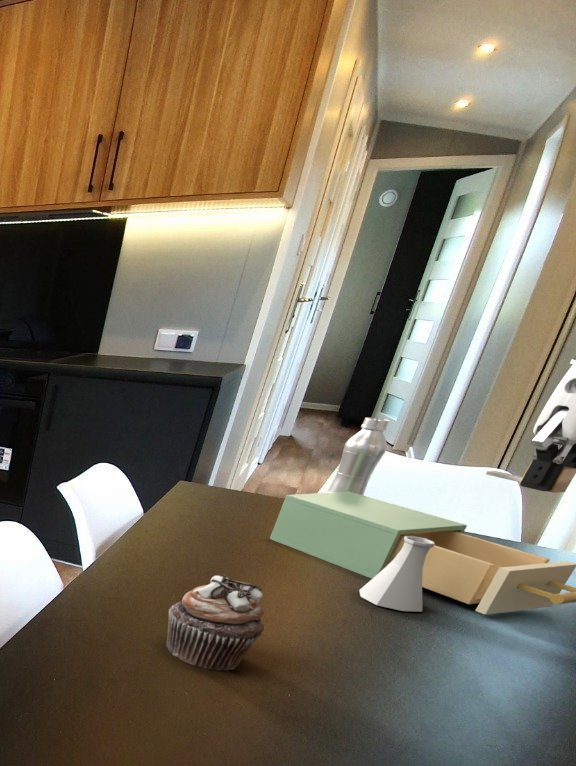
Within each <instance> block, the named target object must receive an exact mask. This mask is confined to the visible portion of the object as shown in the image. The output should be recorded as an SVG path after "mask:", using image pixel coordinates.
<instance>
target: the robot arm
mask: <svg viewBox="0 0 576 766" xmlns="http://www.w3.org/2000/svg"><path fill="white" fill-rule="evenodd" d="M569 364H570V365H571V366H570V368H569V369H568V371H567V372H566V373H565V374H564V376H563V377H562V379H561V380H560V382H558V383H559V384H558V385H557V386H556V388H554V391H553V393H552V394H551V395H550V397H549V399H548V401H547V402H546V404H545V406H543V409H542V410H541V412H540V414H539V415H538V418H537V420H536V422H535V424H534V427H533V430H532V432H533V434H534V437H533V438H532V439H531V442H530V444H531V445H532V446H533V447H534V448H535V452H534V453H533V456H532V461H531V462H532V463H531V462H530V463H531V465H530V464H529V465H530V467H529V466H528V467H529V469H528V468H527V469H528V470H527V469H526V470H527V472H526V471H525V472H526V474H525V473H524V474H525V476H524V475H523V476H524V478H523V479H522V481H521V483H520V482H519V483H520V485H519V486H520V487H523V488H527V489H531V490H536V491H541V492H548V491H550V490H551V488H552V487H553V485H554V483H555V481H556V480H557V478H558V476H559V475H560V473H561V471H562V469H563V468H564V466H565V467H570V468H575V469H576V352H575V353H574V355H573V357H572V359H571V360H570V362H569ZM559 438H560V439H559ZM561 438H563V439H561Z"/></svg>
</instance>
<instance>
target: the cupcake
mask: <svg viewBox="0 0 576 766" xmlns="http://www.w3.org/2000/svg"><path fill="white" fill-rule="evenodd" d="M263 597H264V593H262V588H261V587H260V586H258V585H255V584H252V583H249V582H246V581H240V580H235V579H233V578H231V577H230V576H228V575H227V574H224V573H223V574H221V575H214V576H212V577H211V579H210V581H209V584H204V585H199V586H196V587H194V588H193V589H192V590H189V591H188V592H186V593H185V594H184V595H183V597H182V600H179V602H176V603H173V605H171V606H169V609H168V624H167V635H166V644H165V645H166V649H167V650H168V652H169V653H170V654H171V655H172V656H173V657H176V658H177V659H179V660H180V661H182V662H184V663H187V664H189V665H191V666H194V667H195V666H196V667H199V668H202V669H205V670H211V671H217V672H220V671H221V672H222V671H226V672H228V671H233V670H235V669H236V668H237V666H239V664H240V663H241V661H242V660H243V659H244V657H245V656H246V655H247V654H248V652H249V651H250V649H251V647H252V646H254V645H255V643H256V642H257V641H258V640H259V639H260V638H261V637H262V633H263V632H264V629H265V628H264V627H265V626H264V623H263V621H262V617H263V616H264V614H265V609H264V607H263V606H262V604H261V603H260V602H261V601H262V599H263Z"/></svg>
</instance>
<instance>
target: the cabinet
mask: <svg viewBox="0 0 576 766" xmlns="http://www.w3.org/2000/svg"><path fill="white" fill-rule="evenodd" d="M467 527H468V524H465V523H461V522H458V521H455V520H451V519H447V518H443V517H440V516H437V515H433V514H430V513H425V512H422V511H419V510H416V509H413V508H409V507H404V506H401V505H398V504H394V503H391V502H387V501H384V500H380V499H377V498H374V497H370V496H365V495H364V496H363V495H359V494H356V493H352V492H331V493H326V492H315V493H313V492H312V493H298V494H296V493H295V494H286V496H285V499H284V500H283V503H282V506H281V509H280V511H279V513H278V516H277V518H276V521H275V524H274V526H273V529H272V532H271V533H270V537H269V540H271V541H273V542H276V543H277V544H281V545H284V546H286V547H289V548H291V549H294V550H297V551H299V552H302V553H305V554H307V555H310V556H312V557H315V558H317V559H320V560H321V561H325V562H327V563H330V564H332V565H335V566H337V567H340V568H343V569H346V570H347V571H350V572H353V573H356V574H358V575H360V576H363V577H366V578H368V579H370V580H372V579H373V578H374V577H375V576H376V575H377V574H379V573H380V572H381V571H382V570H383V569H384V568H385V566H386V564H387V562H388V560H389V558H390V556H391V554H392V552H393V549H394V547H395V545H396V543H397V541H398V539H399V537H400V535H401V534H414V533H427V532H440V531H456V532H460V533H463V534H465V531H466V529H467Z"/></svg>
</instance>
